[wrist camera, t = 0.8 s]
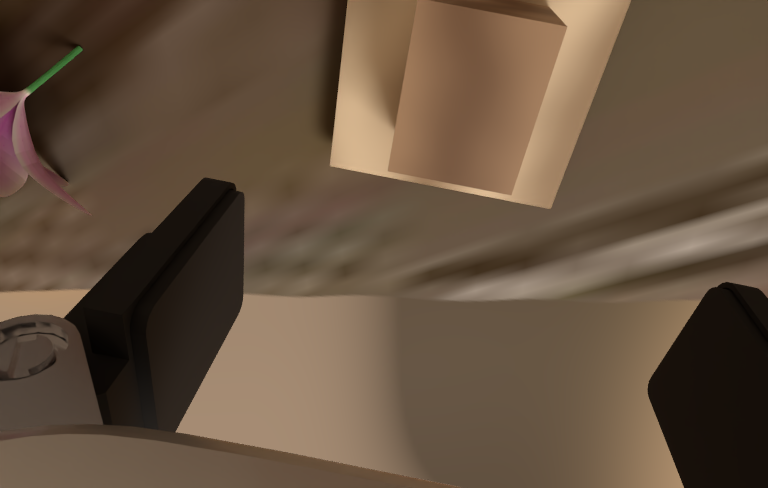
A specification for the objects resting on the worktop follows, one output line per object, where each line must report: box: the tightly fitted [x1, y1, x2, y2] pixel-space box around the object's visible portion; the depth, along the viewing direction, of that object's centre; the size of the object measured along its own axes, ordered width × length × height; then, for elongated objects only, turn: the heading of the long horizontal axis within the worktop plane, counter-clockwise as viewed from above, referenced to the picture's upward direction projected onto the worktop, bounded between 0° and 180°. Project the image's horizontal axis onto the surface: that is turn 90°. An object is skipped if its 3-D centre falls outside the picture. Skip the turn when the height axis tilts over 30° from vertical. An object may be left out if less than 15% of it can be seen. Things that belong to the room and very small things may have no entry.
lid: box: [330, 0, 631, 209], centre depth 23 cm, size 12×12×5 cm
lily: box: [0, 46, 92, 216], centre depth 27 cm, size 12×12×10 cm
